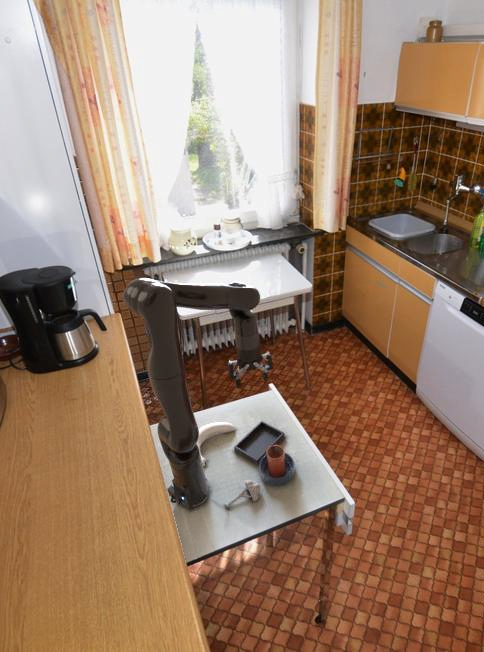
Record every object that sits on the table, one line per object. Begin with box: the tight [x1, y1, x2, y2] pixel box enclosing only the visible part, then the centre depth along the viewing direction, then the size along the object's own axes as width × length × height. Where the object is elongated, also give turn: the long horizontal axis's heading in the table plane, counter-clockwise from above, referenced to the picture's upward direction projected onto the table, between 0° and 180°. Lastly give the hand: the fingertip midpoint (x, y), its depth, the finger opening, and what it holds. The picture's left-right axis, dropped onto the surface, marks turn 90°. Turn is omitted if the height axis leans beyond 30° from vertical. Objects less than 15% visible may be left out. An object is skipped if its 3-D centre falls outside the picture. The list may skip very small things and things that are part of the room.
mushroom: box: [224, 479, 261, 509], centre depth 136 cm, size 7×5×12 cm
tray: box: [233, 420, 286, 466], centre depth 155 cm, size 15×11×2 cm
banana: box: [196, 421, 236, 467], centre depth 156 cm, size 5×19×15 cm
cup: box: [266, 444, 286, 478], centre depth 142 cm, size 6×6×10 cm
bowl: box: [258, 452, 295, 487], centre depth 144 cm, size 11×11×4 cm
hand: (252, 383), depth 144 cm, fingers open, 8 cm apart
